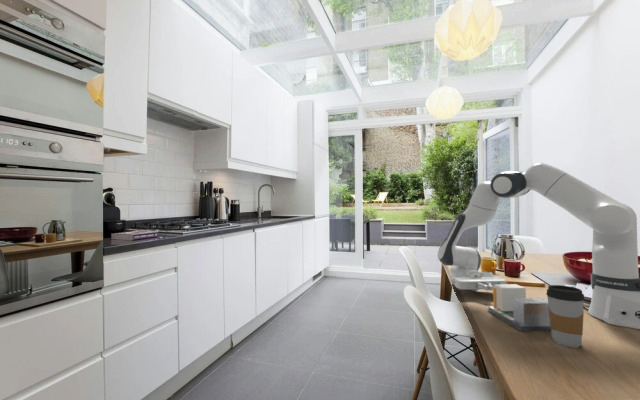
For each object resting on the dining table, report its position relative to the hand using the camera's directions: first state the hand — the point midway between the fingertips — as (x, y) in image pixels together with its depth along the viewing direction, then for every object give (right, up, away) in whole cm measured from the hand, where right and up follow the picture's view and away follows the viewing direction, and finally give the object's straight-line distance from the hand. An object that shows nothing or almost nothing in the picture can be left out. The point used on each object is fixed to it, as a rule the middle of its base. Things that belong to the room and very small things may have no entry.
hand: (489, 288), depth 119 cm
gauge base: (0, -5, -19) cm, 20 cm away
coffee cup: (+1, -5, -36) cm, 36 cm away
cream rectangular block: (-1, -3, -13) cm, 13 cm away
